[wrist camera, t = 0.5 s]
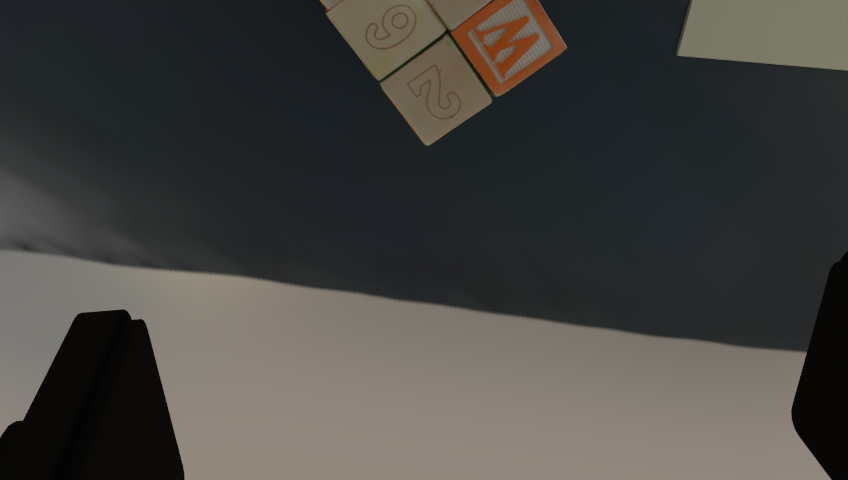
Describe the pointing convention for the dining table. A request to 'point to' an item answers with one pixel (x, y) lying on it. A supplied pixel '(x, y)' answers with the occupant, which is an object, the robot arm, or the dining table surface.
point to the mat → (768, 32)
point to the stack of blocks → (446, 52)
